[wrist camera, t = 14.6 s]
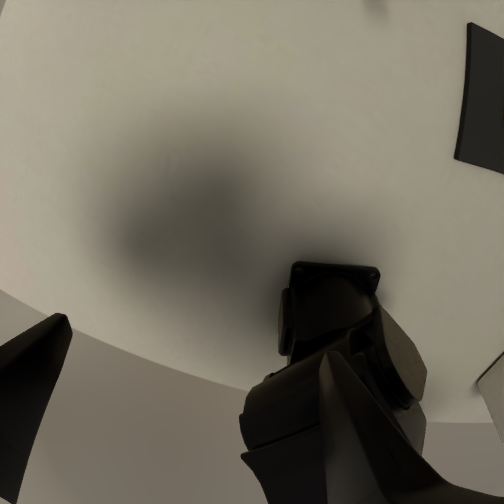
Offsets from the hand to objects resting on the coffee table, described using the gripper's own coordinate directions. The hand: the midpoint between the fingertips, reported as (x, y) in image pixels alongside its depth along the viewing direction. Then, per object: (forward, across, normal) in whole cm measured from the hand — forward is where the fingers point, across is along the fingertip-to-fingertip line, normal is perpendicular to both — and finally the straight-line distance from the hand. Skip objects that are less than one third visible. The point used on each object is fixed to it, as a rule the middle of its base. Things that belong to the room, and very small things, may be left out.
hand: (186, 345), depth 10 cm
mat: (+12, -21, -11) cm, 27 cm away
